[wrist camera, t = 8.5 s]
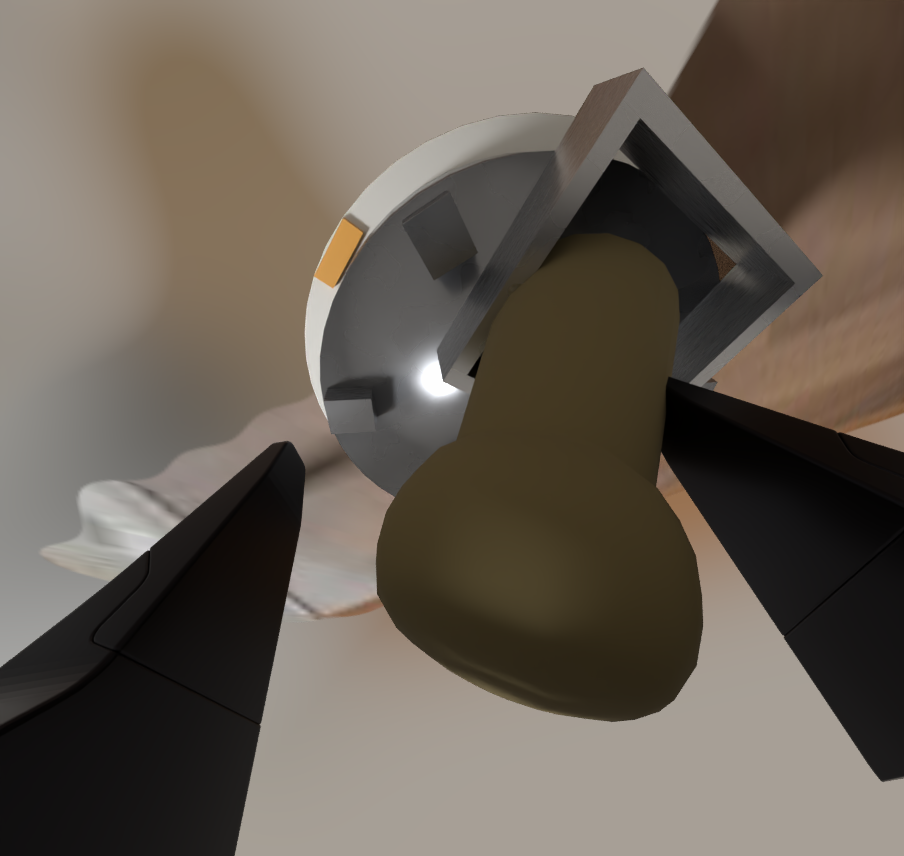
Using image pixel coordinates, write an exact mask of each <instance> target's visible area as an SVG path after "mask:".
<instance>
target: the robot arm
mask: <svg viewBox="0 0 904 856" xmlns="http://www.w3.org/2000/svg"><path fill="white" fill-rule="evenodd" d="M661 452H662V454H663V456H664V458H665V459H666V461H667V463H668V464H669V466H670V468H671V469H672V471H673V472H674V474H675V475H676V477H677V478H678V480H679V481H680V483H681V484H682V486H683V487H684V489H685V490H686V492H687V493H688V494H689V496H690V498H691V499H692V501H693V502H694V504H695V505H696V506H697V508H698V510H699V511H700V513H701V514H702V516H703V517H704V519H705V520H706V522H707V523H708V524H709V526H710V528H711V529H712V531H713V532H714V534H715V535H716V536H717V538H718V539H719V541H720V542H721V544H722V545H723V547H724V548H725V550H726V552H727V553H728V554H729V556H730V558H731V559H732V560H733V562H734V563H735V565H736V567H737V568H738V570H739V571H740V573H741V574H742V575H743V577H744V578H745V580H746V581H747V583H748V584H749V586H750V587H751V589H752V590H753V592H754V593H755V595H756V596H757V598H758V599H759V601H760V602H761V604H762V605H763V607H764V608H765V610H766V611H767V613H768V614H769V616H770V617H771V619H772V620H773V622H774V623H775V625H776V626H777V628H778V629H779V631H780V632H781V634H782V635H784V639H785V640H786V642H787V643H788V645H789V646H790V648H791V649H792V651H793V652H794V654H795V655H796V657H797V658H798V660H799V661H800V663H801V664H802V666H803V667H804V669H805V670H806V672H807V673H808V675H809V676H810V678H811V679H812V681H813V682H814V684H815V685H816V687H817V688H818V690H819V691H820V692H821V694H822V696H823V697H824V699H825V700H826V702H827V703H828V705H829V706H830V708H831V709H832V711H833V712H834V714H835V715H836V717H837V718H838V719H839V721H840V723H841V724H842V726H843V727H844V729H845V730H846V732H847V733H848V735H849V736H850V737H851V739H852V741H853V742H854V744H855V745H856V746H857V748H858V750H859V751H860V753H861V754H862V756H863V757H864V759H865V760H866V762H867V763H868V765H869V766H870V767H871V769H872V770H873V772H874V773H875V774H876V775H877V777H878V778H879V779H880V780H881V781H882V782H885V781H891V780H897V779H903V778H904V452H901V451H898V450H894V449H891V448H888V447H884V446H881V445H878V444H875V443H872V442H869V441H866V440H862V439H859V438H856V437H853V436H850V435H847V434H844V433H841V432H839V433H837V432H836V431H834V430H832V429H828V428H825V427H822V426H819V425H816V424H813V423H810V422H807V421H804V420H801V419H798V418H795V417H792V416H789V415H785V414H782V413H779V412H776V411H773V410H770V409H767V408H764V407H761V406H758V405H755V404H752V403H749V402H746V401H742V400H739V399H736V398H733V397H730V396H727V395H724V394H721V393H718V392H715V391H712V390H709V389H706V388H703V387H699V386H696V385H693V384H690V383H687V382H684V381H681V380H678V379H675V378H672V377H669V376H668V380H667V384H666V420H665V427H664V434H663V441H662V448H661ZM304 482H305V466H304V463H303V461H302V459H301V458H300V456H299V454H298V452H297V451H296V449H295V447H294V445H293V444H292V443H291V442H289V441H284V442H278V443H273V444H272V445H270V446H269V447H268V448H267V449H266V450H264V451H263V452H262V453H261V454H260V455H259V456H257V457H256V458H255V459H254V460H253V461H252V462H250V463H249V464H248V465H247V466H246V467H245V468H243V469H242V470H241V471H240V472H239V473H238V474H236V475H235V476H234V477H233V478H232V479H231V480H229V481H228V482H227V483H226V484H225V485H223V486H222V487H221V488H220V489H219V490H218V491H216V492H215V493H214V494H213V495H212V496H211V497H209V498H208V499H207V500H206V501H205V502H204V503H202V504H201V505H200V506H199V507H198V508H197V509H195V510H194V511H193V512H192V513H191V514H190V515H188V516H187V517H186V518H185V519H184V520H182V521H181V522H180V523H179V524H178V525H177V526H175V527H174V528H173V529H172V530H171V531H170V532H168V533H167V534H166V535H165V536H164V537H163V538H161V539H160V540H159V541H158V542H157V543H156V544H154V545H153V546H152V547H151V548H150V551H146V552H145V553H144V554H143V555H141V556H140V557H139V558H138V559H137V560H136V561H134V562H133V563H132V564H131V565H130V566H129V567H127V568H126V569H125V570H124V571H122V572H121V573H120V574H119V575H118V576H116V577H115V578H114V579H113V580H112V581H110V582H109V583H108V584H107V585H106V586H104V587H103V588H102V589H101V590H99V591H98V592H97V593H96V594H94V595H93V596H92V597H90V598H89V599H88V600H87V601H85V602H84V603H83V604H82V605H80V606H79V607H78V608H77V609H75V610H74V611H73V612H72V613H70V614H69V615H68V616H66V617H65V618H64V619H62V620H61V621H60V622H58V623H57V624H56V625H55V626H53V627H52V628H51V629H49V630H48V631H47V632H46V633H44V634H43V635H42V636H40V637H39V638H38V639H36V640H35V641H34V642H33V643H31V644H30V645H29V646H27V647H26V648H25V649H24V650H22V651H21V652H20V653H18V654H17V655H16V656H15V657H13V658H12V659H11V660H9V661H8V662H7V663H6V664H4V665H3V666H2V667H0V856H234V855H235V851H236V846H237V841H238V836H239V831H240V826H241V821H242V816H243V811H244V806H245V801H246V796H247V791H248V786H249V781H250V776H251V772H252V767H253V762H254V757H255V752H256V747H257V742H258V737H259V732H260V725H259V724H260V723H261V721H262V716H263V711H264V706H265V701H266V695H267V691H268V686H269V680H270V676H271V671H272V666H273V661H274V656H275V651H276V646H277V641H278V636H279V632H280V626H281V622H282V617H283V612H284V607H285V602H286V597H287V592H288V587H289V582H290V577H291V572H292V567H293V562H294V557H295V552H296V547H297V542H298V537H299V532H300V527H301V519H302V508H303V495H304Z"/></svg>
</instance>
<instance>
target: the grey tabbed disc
mask: <svg viewBox="0 0 904 856" xmlns="http://www.w3.org/2000/svg"><path fill="white" fill-rule="evenodd" d="M618 150H620V151H621V152H622V153H623V154H624V155H625V156H626V157H627V158H628V159H629V160H630V161H631V162H632V163H633V164H634V165H635V166H637V167H638V168H639V169H640V170H639V169H637V168H635V167H633V166H632V165H630V164H627V163H624V162H621V161H617V160H614V159H613V157H614V156H615V154H616V153H617V151H618ZM599 233H609V234H612V235H615V236H618V237H621V238H625V239H628V240H631V241H634V242H637V243H640V244H641V245H642V246H644V247H645V248H646V249H647V250H649V251H650V252H651V253H652V254H653V255H655V256H656V257H657V258H658V259H659V260H661V261H662V262H663V263H664V264H665V266H666V268H667V270H668V272H669V273H670V275H671V277H672V279H673V281H674V283H675V285H676V287H677V289H678V296H679V313H680V322H679V329H678V336H677V343H676V350H675V357H674V364H673V371H672V378H675V379H678V380H681V381H684V382H687V383H690V384H693V385H696V386H699V387H703V388H706V389H709V390H712V391H713V389H714V388H715V386H716V384H717V382H716V381H715V380H714V379H712V377H713V376H714V375H715V374H716V373H717V372H718V371H719V370H720V369H721V368H722V367H724V366H725V365H726V364H727V363H728V362H729V361H730V360H731V359H732V358H733V357H734V356H736V355H737V354H738V353H739V352H740V351H741V350H742V349H743V348H744V347H745V346H747V345H748V344H749V343H750V342H751V341H752V340H753V339H754V338H755V337H756V336H757V335H759V334H760V333H761V332H762V331H763V330H764V329H765V328H766V327H767V326H768V325H769V324H771V323H772V322H773V321H774V320H775V319H776V318H777V317H778V316H779V315H780V314H782V313H783V312H784V311H785V310H786V309H787V308H788V307H789V306H790V305H791V304H792V303H794V302H795V301H796V300H797V299H798V298H799V297H800V296H801V295H802V294H803V293H805V292H806V291H807V290H808V289H809V288H810V287H811V286H812V285H813V284H814V283H815V282H817V281H818V280H819V279H820V278H821V277H822V276H823V275H822V274H821V273H820V272H819V270H818V269H817V268H816V267H815V266H814V265H813V263H812V262H811V261H810V260H809V259H808V258H807V257H806V255H805V254H804V253H803V252H802V251H801V250H800V248H799V247H798V246H797V245H796V244H795V243H794V241H793V240H792V239H791V238H790V237H789V236H788V235H787V233H786V232H785V231H784V230H783V229H782V228H781V226H780V225H779V224H778V223H777V222H776V221H775V219H774V218H773V217H772V216H771V215H770V214H769V213H768V211H767V210H766V209H765V208H764V207H763V206H762V204H761V203H760V202H759V201H758V200H757V199H756V197H755V196H754V195H753V194H752V193H751V192H750V190H749V189H748V188H747V187H746V186H745V185H744V184H743V182H742V181H741V180H740V179H739V178H738V177H737V175H736V174H735V173H734V172H733V171H732V170H731V168H730V167H729V166H728V165H727V164H726V163H725V162H724V160H723V159H722V158H721V157H720V156H719V155H718V153H717V152H716V151H715V150H714V149H713V148H712V146H711V145H710V144H709V143H708V142H707V141H706V140H705V138H704V137H703V136H702V135H701V134H700V133H699V131H698V130H697V129H696V128H695V127H694V126H693V124H692V123H691V122H690V121H689V120H688V119H687V118H686V116H685V115H684V114H683V113H682V112H681V111H680V109H679V108H678V107H677V106H676V105H675V104H674V102H673V101H672V100H671V99H670V98H669V97H668V95H667V94H666V93H665V92H664V91H663V90H662V89H661V87H660V86H659V85H658V84H657V83H656V82H655V80H654V79H653V78H652V77H651V76H650V75H649V73H648V72H647V71H646V70H645V69H644V68H641V69H639V70H635V71H633V72H630V73H627V74H624V75H622V76H619V77H616V78H613V79H610V80H608V81H605V82H602V83H600V84H597V85H594V86H593V88H592V90H591V92H590V93H589V95H588V97H587V98H586V100H585V102H584V103H583V105H582V107H581V108H580V110H579V112H578V113H577V115H576V117H575V118H574V120H573V122H572V123H571V125H570V127H569V128H568V130H567V132H566V133H565V135H564V137H563V138H562V140H561V142H560V144H559V145H558V147H557V149H556V150H554V151H531V152H516V153H506V154H501V155H497V156H493V157H489V158H484V159H480V160H476V161H473V162H471V163H468V164H466V165H463V166H461V167H458V168H456V169H453V170H451V171H449V172H446V173H444V174H442V175H441V176H439V177H437V178H436V179H434V180H432V181H431V182H429V183H427V184H425V185H424V186H422V187H420V188H419V189H417V190H416V191H414V192H413V193H412V194H411V195H410V196H408V197H407V198H406V199H405V200H403V201H402V202H401V203H400V204H398V205H397V206H396V207H395V208H394V209H392V210H391V211H390V212H389V213H388V214H387V216H386V217H385V218H384V219H383V220H382V221H381V222H380V223H379V224H378V225H377V226H376V228H375V229H374V230H373V231H372V232H371V233H370V234H369V236H368V237H367V239H366V240H365V242H364V243H363V244H362V246H361V247H360V249H359V250H358V252H357V253H356V255H355V256H354V258H353V259H352V261H351V263H350V266H349V268H348V270H347V272H346V274H345V276H344V278H343V280H342V282H341V284H340V286H339V288H338V291H337V293H336V295H335V297H334V299H333V301H332V305H331V308H330V311H329V314H328V317H327V321H326V324H325V327H324V332H323V338H322V345H321V352H320V384H321V390H322V397H323V403H324V407H325V411H326V415H327V419H328V423H329V427H330V431H331V434H335V435H336V437H337V439H338V441H339V443H340V445H341V446H342V448H343V449H344V451H345V452H346V454H347V455H348V456H349V458H350V459H351V461H352V462H353V463H354V464H355V465H356V466H357V467H358V468H359V469H360V470H361V471H362V473H363V474H364V475H365V476H367V477H368V478H369V479H370V480H371V481H373V482H374V483H375V484H376V485H378V486H379V487H380V488H382V489H383V490H385V491H386V492H388V493H390V494H391V495H393V496H394V497H396V495H397V493H398V492H399V490H400V488H401V487H402V485H403V484H404V483H405V482H406V481H407V480H408V479H409V478H410V477H411V476H412V474H413V473H414V472H415V471H416V470H417V469H418V468H419V467H420V466H421V465H422V464H423V463H424V462H425V461H426V460H427V459H428V458H429V457H430V456H431V455H432V454H433V453H434V452H435V451H436V450H437V449H438V448H440V447H442V446H444V445H447V444H449V443H452V442H454V441H456V440H457V436H458V433H459V430H460V427H461V423H462V420H463V417H464V413H465V410H466V407H467V404H468V400H469V397H470V394H471V390H472V387H473V384H474V381H475V377H476V374H477V371H478V367H479V364H480V361H481V357H482V354H483V351H484V348H485V344H486V341H487V338H488V334H489V331H490V328H491V325H492V321H493V320H494V318H495V317H496V315H497V314H498V312H499V311H500V309H501V308H502V306H503V305H504V303H505V302H506V300H507V299H508V297H509V296H510V294H512V293H513V292H514V291H515V290H516V289H517V288H518V287H519V286H521V285H522V284H523V283H524V282H525V281H526V280H527V279H528V278H529V277H531V276H532V275H533V274H534V273H535V272H536V271H537V270H538V269H539V267H540V266H541V264H542V263H543V261H544V260H545V258H546V257H547V255H548V254H549V252H550V251H551V250H552V248H553V247H554V245H555V244H556V242H557V241H558V240H559V239H562V238H565V237H568V236H571V235H573V234H599ZM705 234H706V235H707V236H708V237H709V238H710V239H711V240H712V241H713V242H714V243H715V244H716V245H717V246H718V247H719V248H720V249H721V250H722V251H723V252H724V253H726V254H727V255H728V256H729V257H730V258H731V259H732V260H733V261H734V262H735V263H736V265H735V266H734V267H733V268H732V269H731V270H730V272H729V273H728V274H727V275H726V276H725V277H724V278H723V279H722V280H721V281H720V280H719V273H718V267H717V264H716V260H715V257H714V254H713V251H712V248H711V245H710V242H709V240H708V238H707V236H706V235H705Z"/></svg>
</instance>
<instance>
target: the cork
mask: <svg viewBox="0 0 904 856" xmlns="http://www.w3.org/2000/svg"><path fill="white" fill-rule="evenodd" d="M679 322H680V313H679V296H678V289H677V287H676V285H675V283H674V281H673V279H672V277H671V275H670V273H669V272H668V270H667V268H666V266H665V264H664V263H663V262H662V261H661V260H659V259H658V258H657V257H656V256H655V255H653V254H652V253H651V252H650V251H649V250H647V249H646V248H645V247H644V246H642V245H641V244H640V243H637V242H634V241H631V240H628V239H625V238H621V237H618V236H615V235H612V234H609V233H599V234H573V235H571V236H568V237H565V238H562V239H559V240H558V241H557V242H556V244H555V245H554V247H553V248H552V250H551V251H550V252H549V254H548V255H547V257H546V258H545V260H544V261H543V263H542V264H541V266H540V267H539V269H538V270H537V271H536V272H535V273H534V274H533V275H532V276H531V277H529V278H528V279H527V280H526V281H525V282H524V283H523V284H522V285H521V286H519V287H518V288H517V289H516V290H515V291H514V292H513V293H512V294H510V296H509V297H508V299H507V300H506V302H505V303H504V305H503V306H502V308H501V309H500V311H499V312H498V314H497V315H496V317H495V318H494V320H493V321H492V325H491V328H490V331H489V334H488V338H487V341H486V344H485V348H484V351H483V354H482V357H481V361H480V364H479V367H478V371H477V374H476V377H475V381H474V384H473V387H472V390H471V394H470V397H469V400H468V404H467V407H466V410H465V413H464V417H463V420H462V423H461V427H460V430H459V433H458V436H457V440H456V441H454V442H452V443H449V444H447V445H444V446H442V447H440V448H438V449H437V450H436V451H435V452H434V453H433V454H432V455H431V456H430V457H429V458H428V459H427V460H426V461H425V462H424V463H423V464H422V465H421V466H420V467H419V468H418V469H417V470H416V471H415V472H414V473H413V474H412V476H411V477H410V478H409V479H408V480H407V481H406V482H405V483H404V484H403V485H402V487H401V488H400V490H399V492H398V493H397V495H396V497H395V498H394V500H393V502H392V503H391V505H390V507H389V508H388V510H387V512H386V514H385V518H384V522H383V525H382V529H381V532H380V536H379V540H378V543H377V556H376V575H377V594H378V596H379V598H380V600H381V602H382V603H383V605H384V607H385V609H386V610H387V612H388V614H389V616H390V617H391V619H392V621H393V623H394V624H395V626H396V628H397V629H398V630H399V631H401V632H402V633H403V634H404V635H405V636H406V637H407V638H408V639H409V640H410V641H411V642H412V643H413V644H415V645H416V646H417V647H418V648H420V649H421V650H422V651H424V652H425V653H426V654H427V655H429V656H430V657H431V658H433V659H434V660H435V661H437V662H438V663H439V664H441V665H443V666H444V667H445V668H447V669H448V670H449V671H451V672H453V673H454V674H456V675H458V676H460V677H461V678H463V679H465V680H467V681H468V682H471V683H472V684H474V685H476V686H478V687H480V688H482V689H484V690H486V691H488V692H490V693H493V694H495V695H497V696H500V697H502V698H505V699H507V700H510V701H513V702H516V703H519V704H522V705H525V706H528V707H531V708H534V709H537V710H541V711H545V712H549V713H554V714H558V715H565V716H571V717H578V718H586V719H593V720H601V721H602V720H603V721H610V722H616V721H626V720H635V719H638V718H641V717H644V716H647V715H650V714H653V713H656V712H659V711H661V710H662V709H663V708H664V707H666V706H667V705H668V704H670V703H671V702H672V701H674V700H675V698H676V697H677V695H678V693H679V692H680V690H681V689H682V687H683V686H684V684H685V683H686V681H687V679H688V678H689V677H690V675H691V673H692V672H693V670H694V669H695V667H696V665H697V660H698V653H699V647H700V642H701V636H702V630H703V610H702V593H701V587H700V580H699V574H698V567H697V561H696V555H695V553H694V550H693V548H692V546H691V544H690V542H689V540H688V538H687V535H686V533H685V531H684V529H683V527H682V525H681V522H680V520H679V519H678V517H677V516H676V514H675V513H674V511H673V510H672V509H671V507H670V506H669V504H668V503H667V501H666V500H665V498H664V497H663V496H662V494H661V493H660V491H659V490H658V488H656V483H657V476H658V469H659V462H660V455H661V448H662V441H663V434H664V427H665V420H666V384H667V380H668V376H669V377H672V371H673V364H674V357H675V350H676V343H677V336H678V329H679Z"/></svg>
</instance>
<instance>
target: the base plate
mask: <svg viewBox="0 0 904 856" xmlns="http://www.w3.org/2000/svg"><path fill="white" fill-rule="evenodd" d="M574 118H575V117H574V116H569V115H558V114H547V113H536V112H535V113H524V114H513V115H502V116H496V117H492V118H488V119H485V120H481V121H477V122H474V123H470V124H466V125H462V126H460V127H457V128H455V129H453V130H451V131H449V132H446V133H444V134H442V135H440V136H437V137H435V138H433V139H431V140H429V141H426V142H425V143H423V144H422V145H420V146H419V147H417V148H415V149H414V150H412V151H411V152H409V153H408V154H406V155H405V156H403V157H402V158H401V159H399V160H397V161H396V162H394V163H393V164H392V165H391V166H390V167H389V168H388V169H387V170H385V171H384V172H383V173H382V174H381V175H380V176H379V177H378V178H377V179H376V180H374V181H373V182H372V183H371V184H370V185H369V186H368V187H367V188H366V189H365V190H364V192H363V193H362V194H361V195H360V197H359V198H358V199H357V200H356V201H355V203H354V204H353V205H352V206H351V208H350V209H349V210H348V211H347V212H346V214H345V215H344V216H343V218H342V220H341V221H340V223H339V225H338V226H337V228H336V230H335V231H334V233H333V235H332V237H331V238H330V240H329V242H328V244H327V245H326V247H325V250H324V252H323V255H322V257H321V260H320V262H319V265H318V267H317V269H316V272H315V274H314V278H313V282H312V286H311V291H310V295H309V299H308V303H307V312H306V324H305V346H306V359H307V364H308V369H309V374H310V379H311V383H312V386H313V389H314V391H315V394H316V397H317V400H318V402H319V405H320V407H321V409H322V411H323V412H324V414H325V416H326V418H327V415H326V411H325V407H324V403H323V397H322V390H321V384H320V352H321V345H322V338H323V332H324V327H325V324H326V321H327V317H328V314H329V311H330V308H331V305H332V301H333V299H334V297H335V295H336V293H337V291H338V288H339V286H340V284H341V282H342V280H343V278H344V276H345V274H346V272H347V270H348V268H349V266H350V263H351V261H352V259H353V258H354V256H355V255H356V253H357V252H358V250H359V249H360V247H361V246H362V244H363V243H364V242H365V240H366V239H367V237H368V236H369V234H370V233H371V232H372V231H373V230H374V229H375V228H376V226H377V225H378V224H379V223H380V222H381V221H382V220H383V219H384V218H385V217H386V216H387V214H388V213H389V212H390V211H391V210H392V209H394V208H395V207H396V206H397V205H398V204H400V203H401V202H402V201H403V200H405V199H406V198H407V197H408V196H410V195H411V194H412V193H413V192H414V191H416V190H417V189H419V188H420V187H422V186H424V185H425V184H427V183H429V182H431V181H432V180H434V179H436V178H437V177H439V176H441V175H442V174H444V173H446V172H449V171H451V170H453V169H456V168H458V167H461V166H463V165H466V164H468V163H471V162H473V161H476V160H480V159H484V158H489V157H493V156H497V155H501V154H506V153H516V152H531V151H554V150H556V149H557V147H558V145H559V144H560V142H561V140H562V138H563V137H564V135H565V133H566V132H567V130H568V128H569V127H570V125H571V123H572V122H573V120H574ZM613 159H614V160H617V161H621V162H624V163H627V164H630V165H632V166H633V167H635V168H637V169H639V168H638V167H637V166H635V165H634V164H633V163H632V162H631V161H630V160H629V159H628V158H627V157H626V156H625V155H624V154H623V153H622V152H621V151H620V150H618V151H617V153H616V154H615V156H614V157H613ZM639 170H640V169H639ZM327 420H328V419H327Z"/></svg>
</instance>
